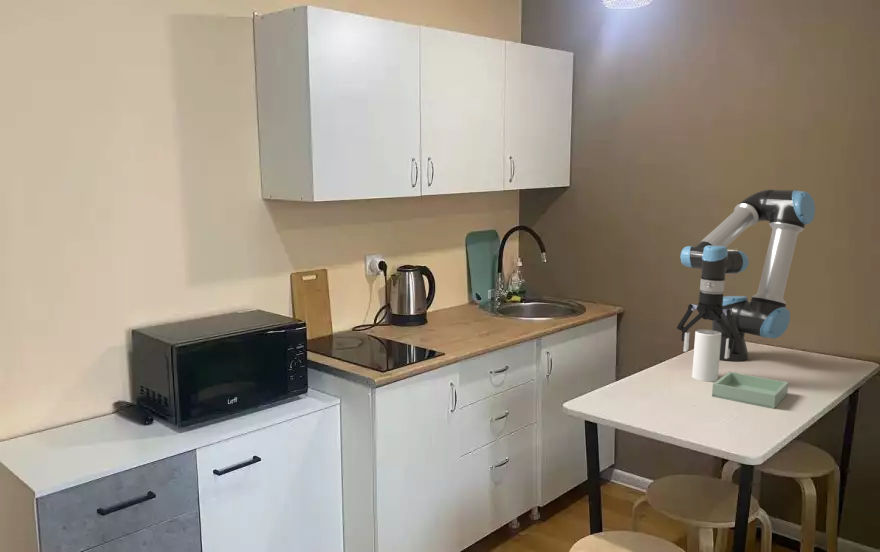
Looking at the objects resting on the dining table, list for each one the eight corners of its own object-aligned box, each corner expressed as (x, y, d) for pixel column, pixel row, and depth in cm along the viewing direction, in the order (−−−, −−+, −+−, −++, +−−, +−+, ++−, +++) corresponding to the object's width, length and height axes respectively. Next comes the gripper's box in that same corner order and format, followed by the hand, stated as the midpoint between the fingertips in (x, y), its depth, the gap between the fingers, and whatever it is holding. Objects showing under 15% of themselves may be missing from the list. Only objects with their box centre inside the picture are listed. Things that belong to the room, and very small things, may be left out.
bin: (728, 383, 239) (729, 371, 238) (787, 394, 228) (788, 382, 228) (711, 396, 225) (712, 383, 224) (773, 408, 214) (775, 395, 214)
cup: (713, 375, 248) (717, 329, 246) (720, 382, 240) (724, 335, 238) (689, 374, 249) (692, 328, 247) (695, 381, 241) (698, 334, 239)
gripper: (670, 288, 245) (665, 349, 248) (747, 298, 230) (741, 363, 233) (678, 286, 251) (673, 346, 253) (753, 295, 236) (747, 359, 239)
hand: (705, 354), depth 243 cm, fingers open, 13 cm apart
